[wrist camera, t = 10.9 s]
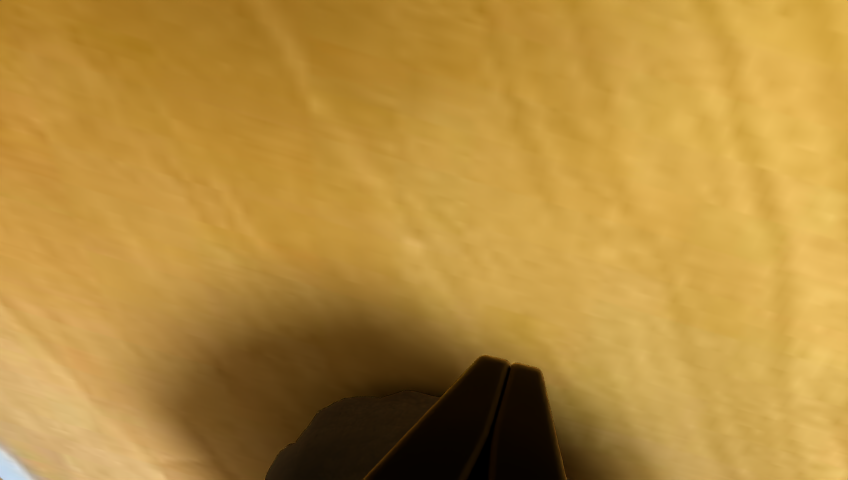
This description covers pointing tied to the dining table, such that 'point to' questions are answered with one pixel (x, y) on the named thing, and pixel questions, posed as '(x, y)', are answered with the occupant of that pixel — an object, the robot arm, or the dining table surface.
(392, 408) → the stone bowl
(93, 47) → the dining table surface
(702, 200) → the dining table surface
